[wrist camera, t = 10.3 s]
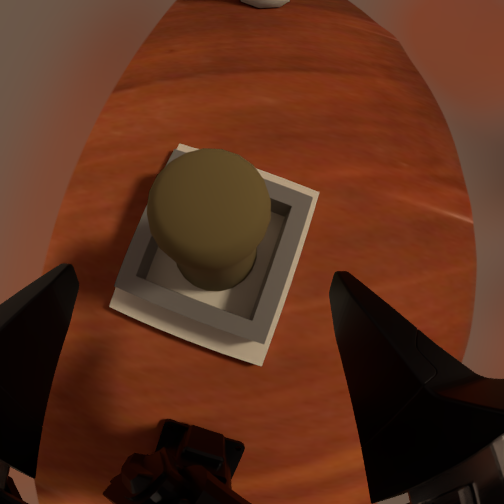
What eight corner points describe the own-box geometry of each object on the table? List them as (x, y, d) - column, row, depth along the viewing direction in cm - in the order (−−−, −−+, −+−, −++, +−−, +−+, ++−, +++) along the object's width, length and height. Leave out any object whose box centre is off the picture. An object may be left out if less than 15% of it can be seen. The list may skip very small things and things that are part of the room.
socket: (260, 363, 21) (266, 374, 18) (113, 306, 21) (95, 306, 17) (315, 196, 24) (329, 180, 20) (181, 149, 24) (175, 127, 20)
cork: (165, 281, 21) (108, 257, 10) (185, 202, 22) (155, 117, 11) (248, 299, 21) (273, 293, 10) (263, 218, 22) (298, 142, 11)
